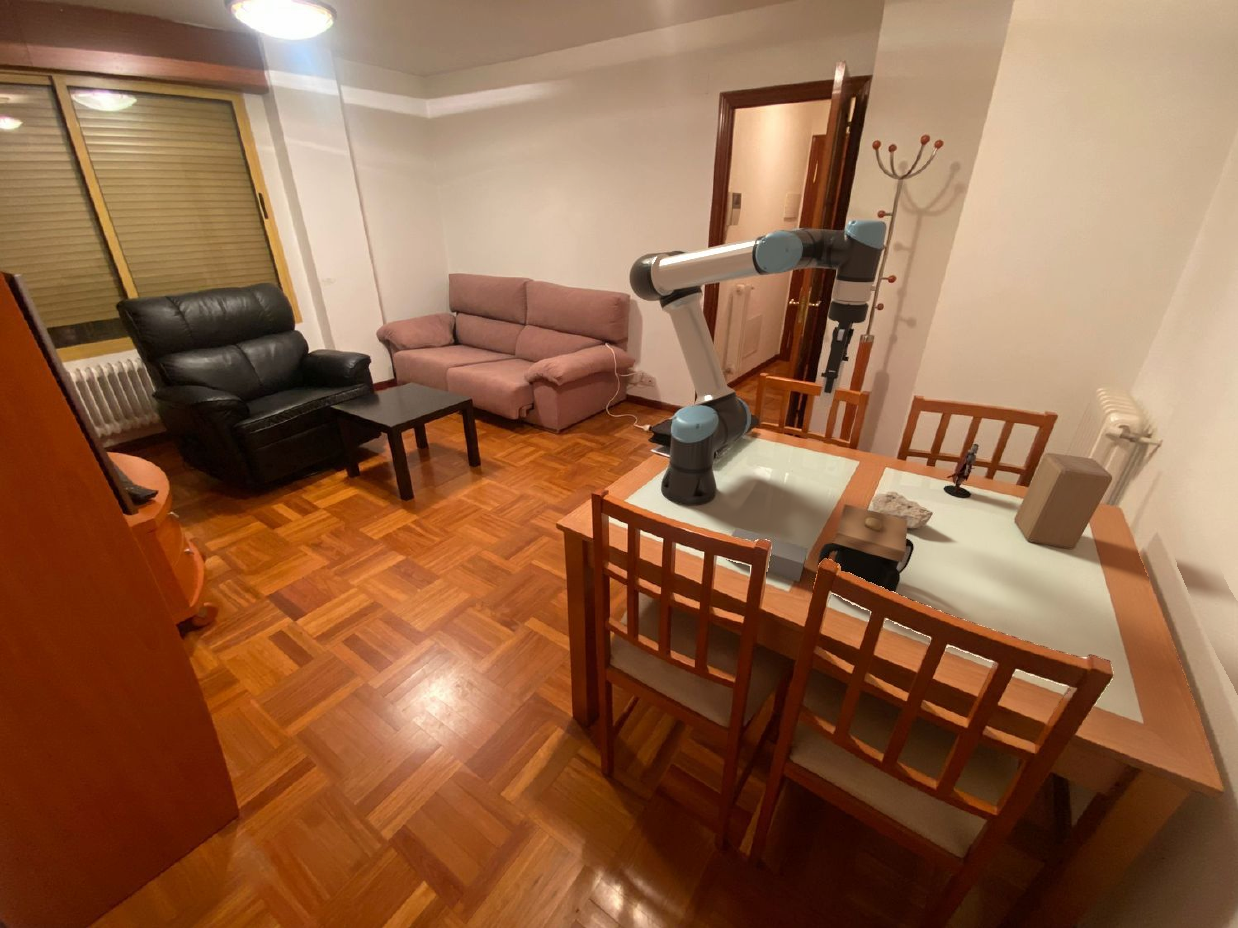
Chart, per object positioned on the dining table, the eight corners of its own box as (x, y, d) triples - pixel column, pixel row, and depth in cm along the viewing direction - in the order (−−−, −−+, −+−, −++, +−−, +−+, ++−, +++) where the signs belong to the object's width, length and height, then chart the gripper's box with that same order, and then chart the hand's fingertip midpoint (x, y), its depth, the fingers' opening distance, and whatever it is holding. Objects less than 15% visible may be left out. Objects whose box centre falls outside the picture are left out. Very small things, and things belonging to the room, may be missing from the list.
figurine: (971, 500, 136) (991, 451, 129) (940, 493, 139) (958, 445, 132) (970, 489, 141) (989, 442, 134) (940, 483, 144) (958, 436, 137)
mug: (837, 549, 116) (849, 505, 111) (910, 583, 106) (928, 537, 101) (803, 581, 106) (815, 535, 100) (881, 622, 96) (898, 574, 90)
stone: (894, 543, 125) (924, 523, 117) (861, 502, 130) (888, 481, 122) (911, 534, 128) (941, 514, 121) (878, 495, 134) (905, 474, 126)
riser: (725, 559, 112) (728, 541, 110) (733, 544, 117) (736, 527, 115) (799, 582, 106) (803, 563, 103) (803, 566, 110) (808, 548, 108)
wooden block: (1058, 528, 125) (1094, 457, 116) (1075, 551, 117) (1116, 477, 107) (1011, 520, 128) (1043, 450, 119) (1025, 542, 120) (1061, 469, 110)
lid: (834, 542, 98) (837, 528, 97) (842, 513, 108) (845, 500, 106) (901, 562, 93) (907, 547, 92) (904, 530, 103) (908, 515, 101)
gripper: (865, 313, 94) (839, 417, 104) (873, 294, 114) (851, 383, 124) (823, 309, 97) (802, 410, 107) (838, 291, 117) (819, 378, 127)
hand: (828, 396), depth 115 cm, fingers open, 13 cm apart
